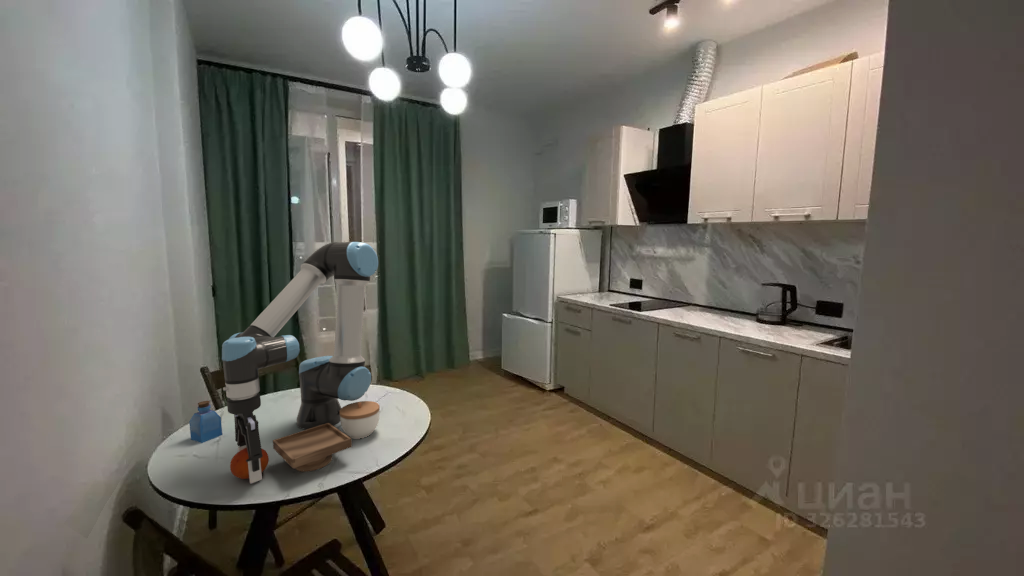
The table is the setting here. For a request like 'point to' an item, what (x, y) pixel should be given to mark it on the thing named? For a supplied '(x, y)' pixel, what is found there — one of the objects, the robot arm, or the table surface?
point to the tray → (312, 447)
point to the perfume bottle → (205, 423)
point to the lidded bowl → (359, 418)
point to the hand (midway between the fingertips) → (250, 474)
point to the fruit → (245, 463)
